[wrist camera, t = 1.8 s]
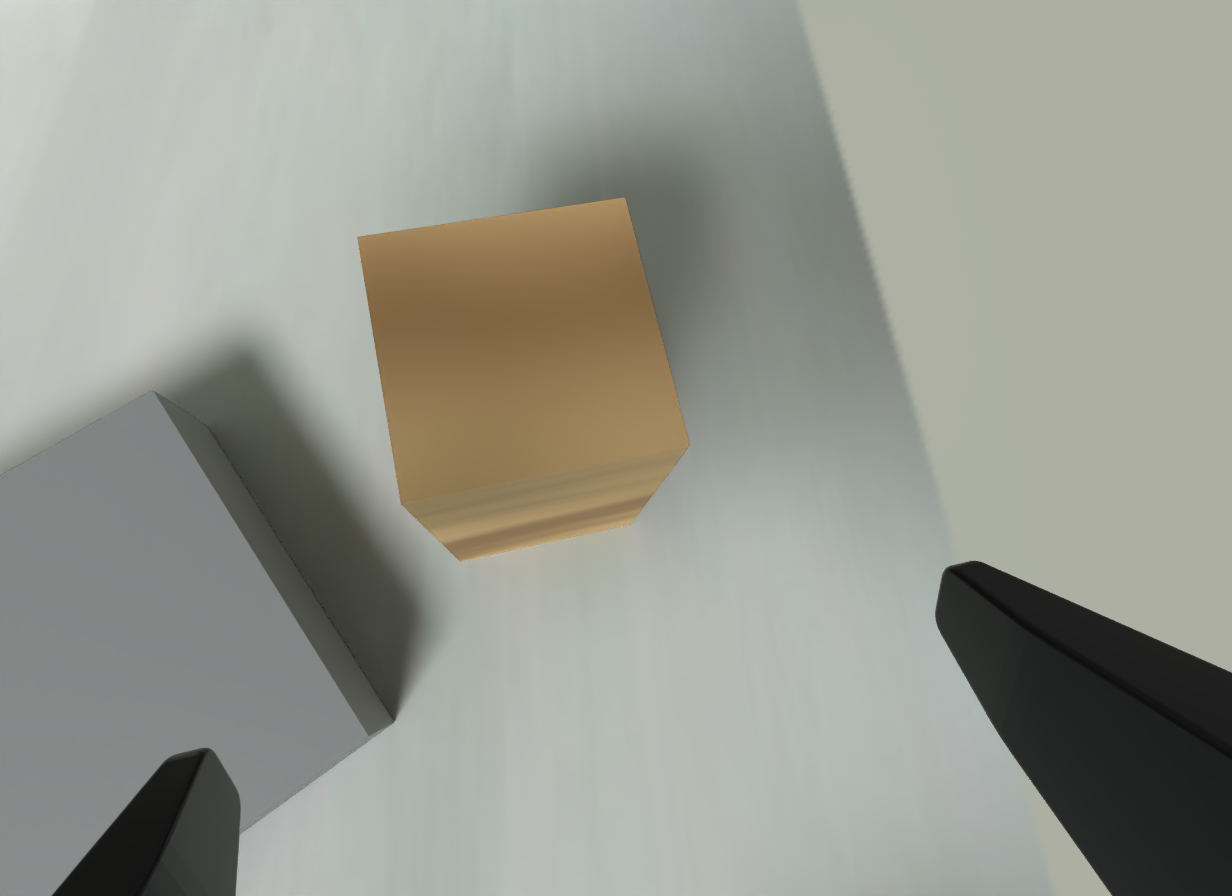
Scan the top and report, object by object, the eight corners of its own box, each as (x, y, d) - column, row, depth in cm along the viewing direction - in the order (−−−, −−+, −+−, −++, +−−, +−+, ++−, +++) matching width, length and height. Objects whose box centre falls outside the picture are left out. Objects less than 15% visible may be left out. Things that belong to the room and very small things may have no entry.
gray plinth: (394, 722, 19) (368, 736, 17) (22, 991, 17) (-82, 1062, 14) (206, 424, 21) (152, 390, 18) (-158, 636, 19) (-286, 635, 16)
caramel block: (630, 524, 22) (690, 444, 13) (460, 561, 21) (401, 504, 12) (593, 367, 23) (625, 197, 14) (430, 397, 22) (357, 237, 13)
